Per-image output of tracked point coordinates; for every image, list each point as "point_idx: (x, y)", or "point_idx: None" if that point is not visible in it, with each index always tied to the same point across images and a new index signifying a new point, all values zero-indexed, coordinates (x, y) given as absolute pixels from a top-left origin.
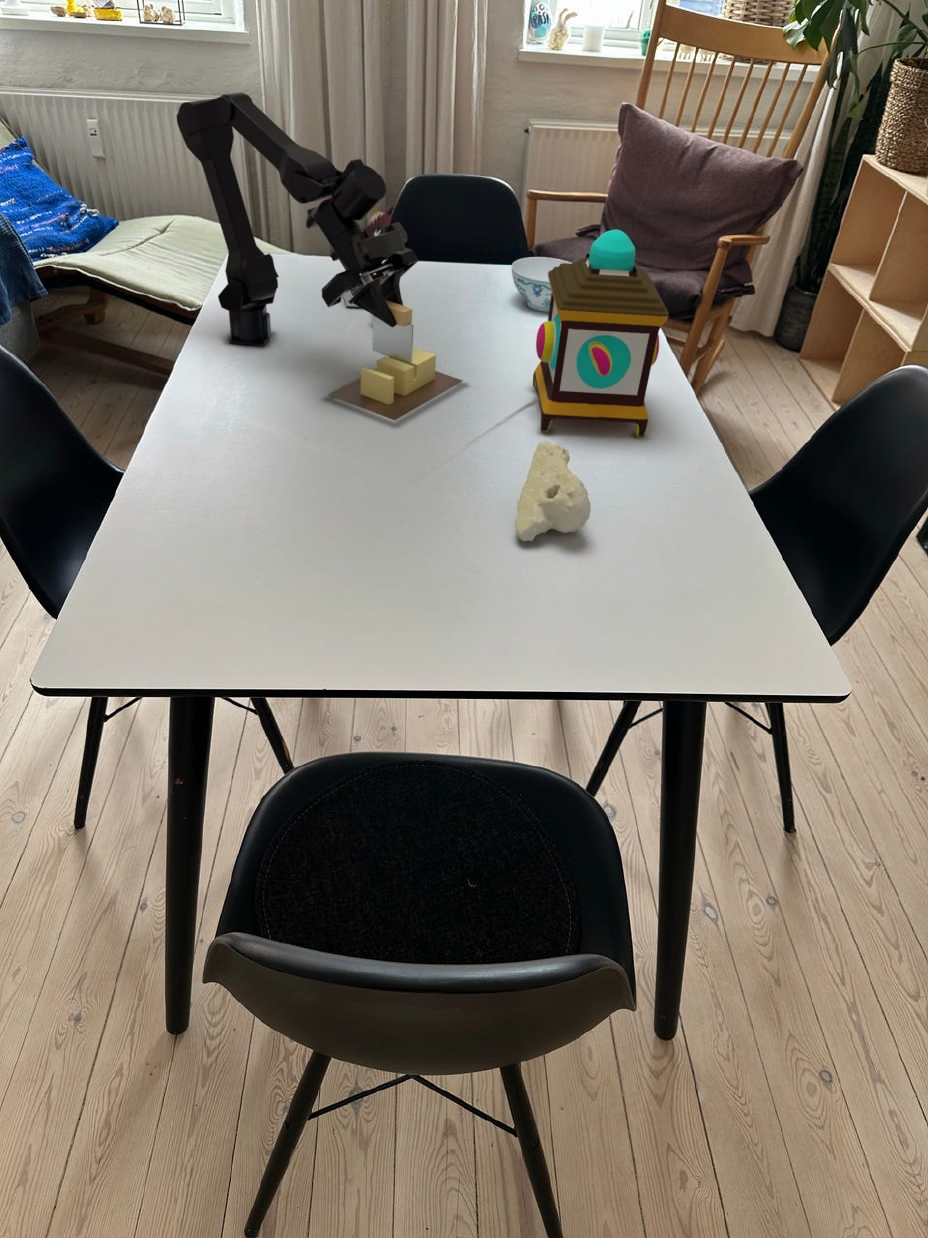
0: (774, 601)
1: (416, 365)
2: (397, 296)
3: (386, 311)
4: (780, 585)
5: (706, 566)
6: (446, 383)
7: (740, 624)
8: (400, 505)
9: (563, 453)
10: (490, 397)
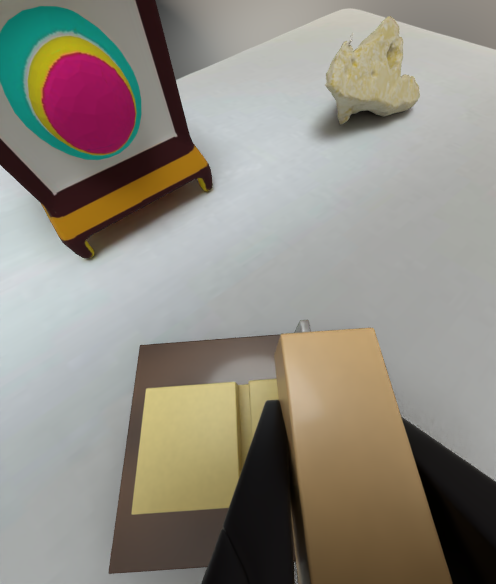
0: (306, 31)
1: (235, 384)
2: (277, 564)
3: (462, 463)
4: (288, 34)
5: (306, 53)
6: (173, 359)
7: (343, 32)
8: (486, 196)
9: (349, 47)
10: (158, 287)
